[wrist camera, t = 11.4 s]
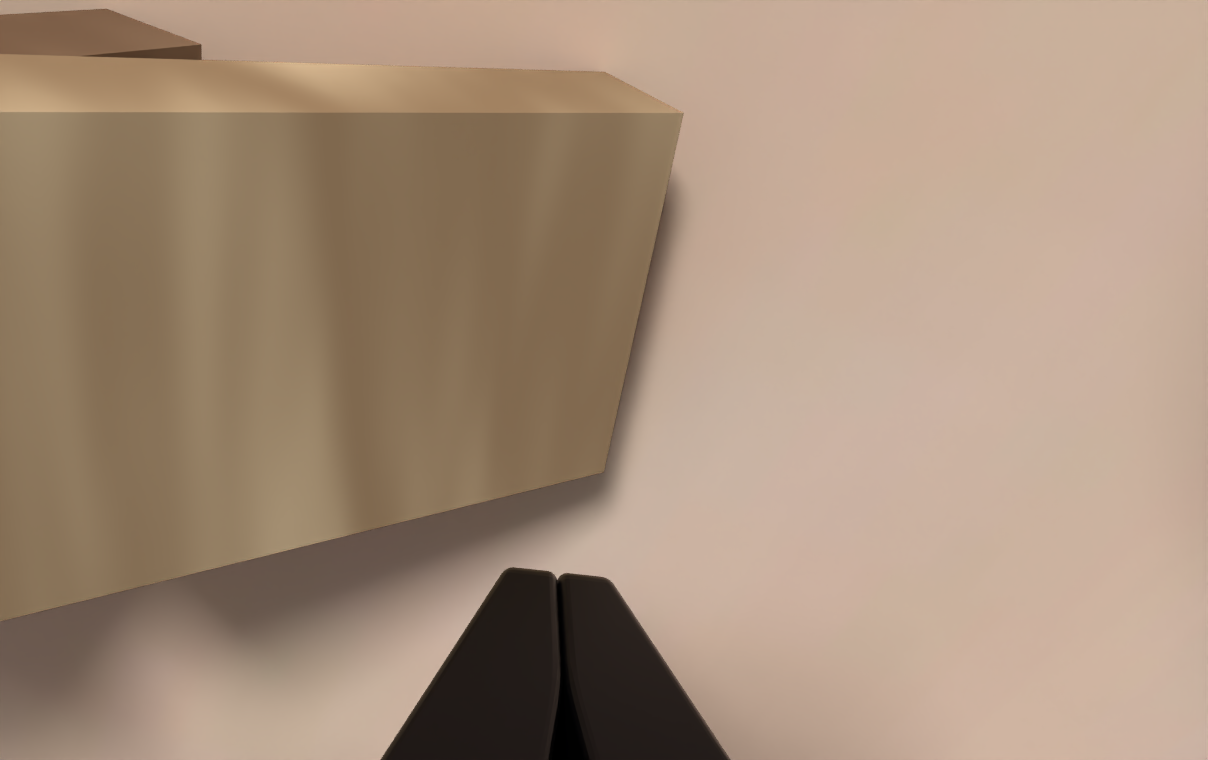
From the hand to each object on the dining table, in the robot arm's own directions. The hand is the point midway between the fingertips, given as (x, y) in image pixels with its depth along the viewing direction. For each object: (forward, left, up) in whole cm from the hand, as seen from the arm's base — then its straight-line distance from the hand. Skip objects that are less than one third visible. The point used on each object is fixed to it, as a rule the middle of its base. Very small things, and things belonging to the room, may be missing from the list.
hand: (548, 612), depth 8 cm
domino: (-1, 0, -6) cm, 6 cm away
